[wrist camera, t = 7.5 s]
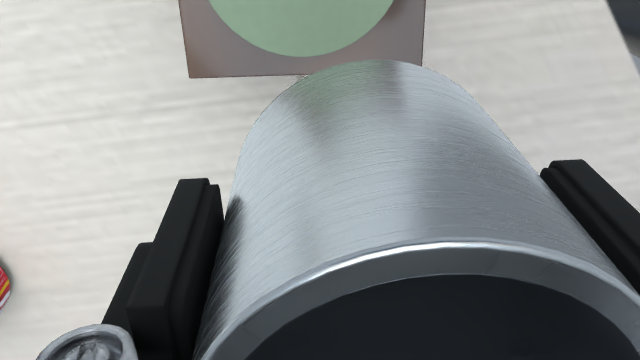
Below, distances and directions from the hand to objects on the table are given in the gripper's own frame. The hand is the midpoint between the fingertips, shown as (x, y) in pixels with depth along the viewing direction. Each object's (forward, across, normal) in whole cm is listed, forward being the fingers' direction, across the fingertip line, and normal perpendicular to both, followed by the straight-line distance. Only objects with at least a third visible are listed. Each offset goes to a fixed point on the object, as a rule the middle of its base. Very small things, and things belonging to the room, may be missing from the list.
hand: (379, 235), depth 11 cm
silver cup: (+2, 0, 0) cm, 2 cm away
